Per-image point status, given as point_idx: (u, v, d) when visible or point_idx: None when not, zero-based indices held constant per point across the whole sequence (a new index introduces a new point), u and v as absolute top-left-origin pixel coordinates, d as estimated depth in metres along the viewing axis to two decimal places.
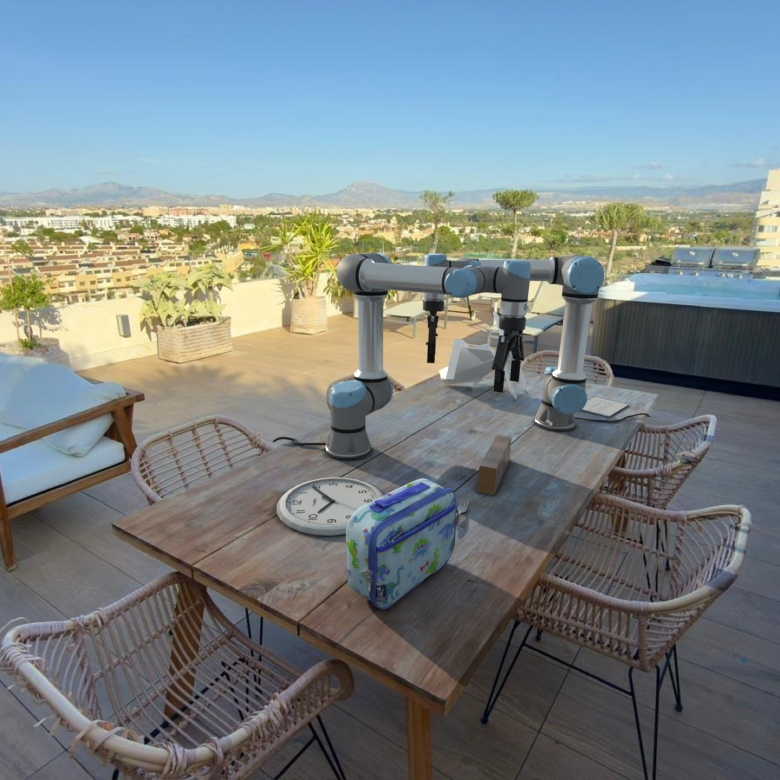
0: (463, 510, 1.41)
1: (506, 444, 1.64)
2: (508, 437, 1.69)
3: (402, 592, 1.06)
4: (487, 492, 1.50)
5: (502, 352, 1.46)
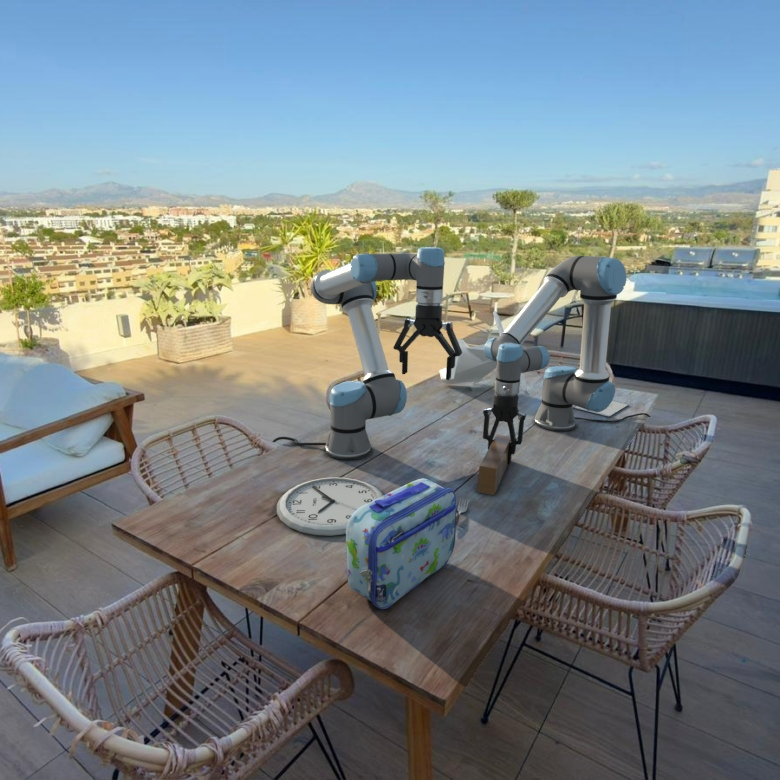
0: (463, 510, 1.41)
1: (506, 444, 1.64)
2: (508, 437, 1.69)
3: (402, 592, 1.06)
4: (487, 492, 1.50)
5: None
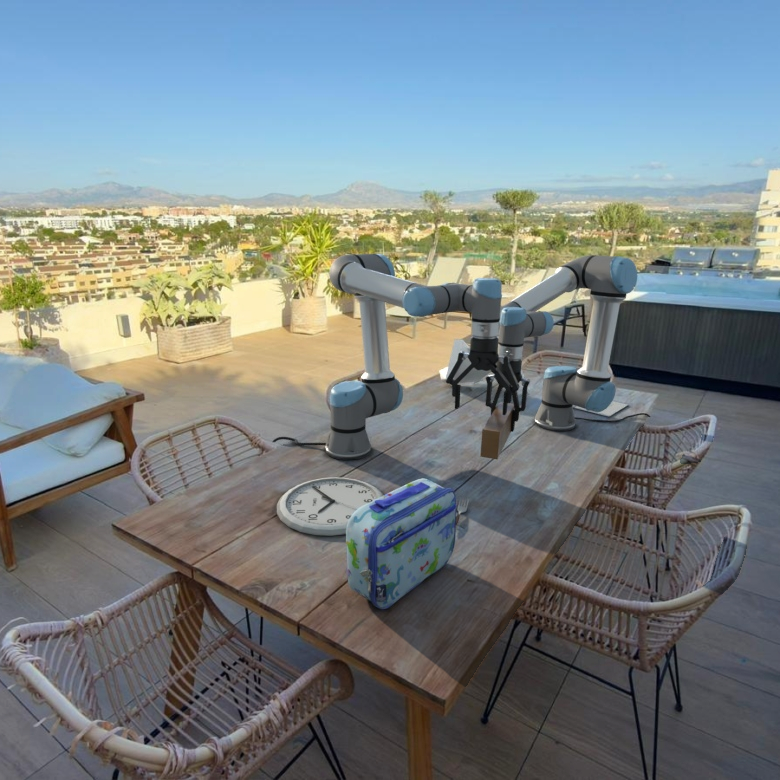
0: (463, 510, 1.41)
1: (509, 410, 1.61)
2: (511, 404, 1.66)
3: (402, 592, 1.06)
4: (490, 457, 1.47)
5: (453, 367, 1.47)
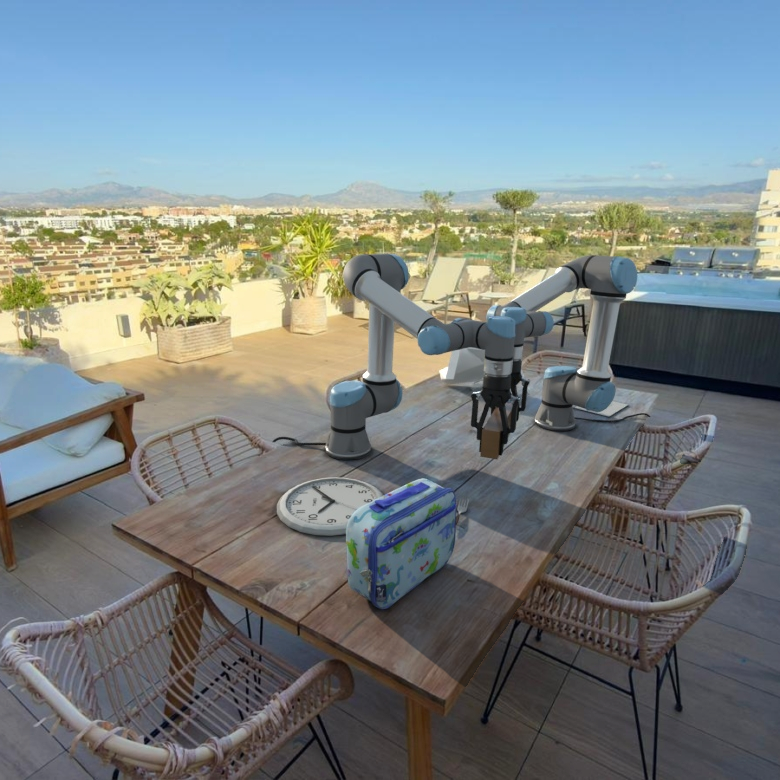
0: (463, 510, 1.41)
1: (509, 410, 1.61)
2: (511, 404, 1.66)
3: (402, 592, 1.06)
4: (490, 457, 1.47)
5: None
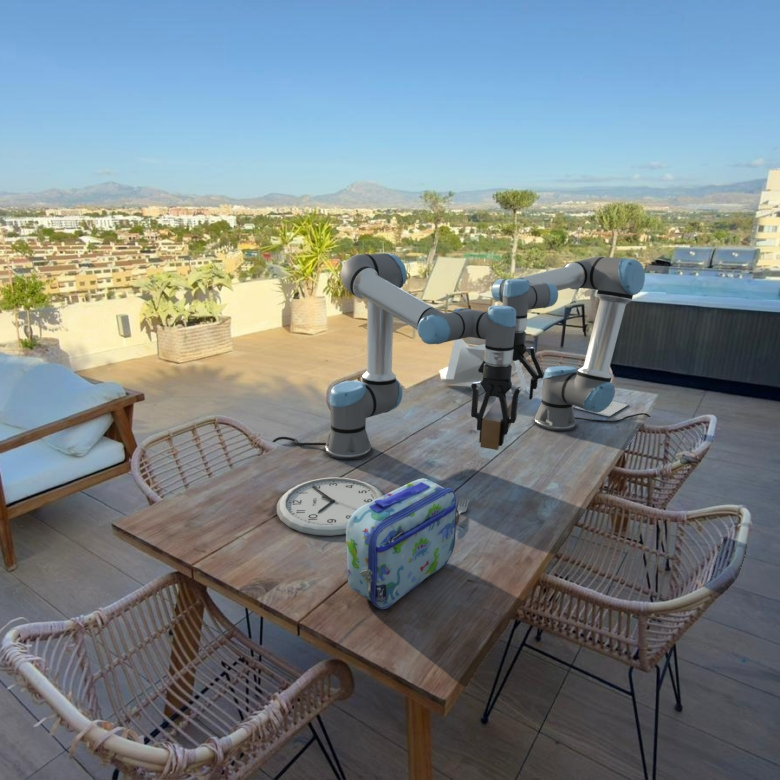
0: (463, 510, 1.41)
1: (510, 401, 1.60)
2: (512, 396, 1.65)
3: (402, 592, 1.06)
4: (490, 447, 1.46)
5: None
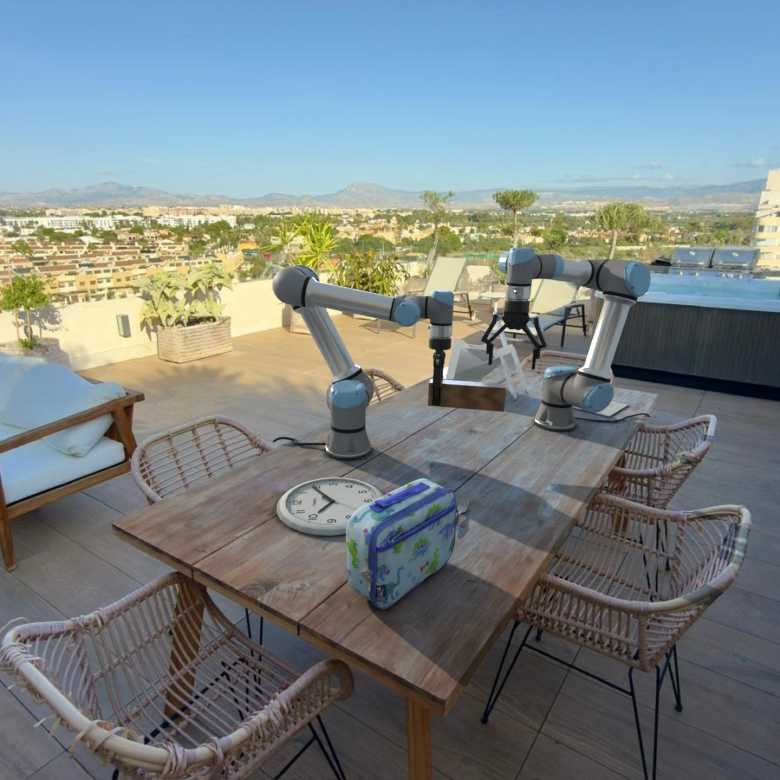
0: (463, 510, 1.41)
1: (484, 386, 1.76)
2: (502, 387, 1.75)
3: (402, 592, 1.06)
4: None
5: None
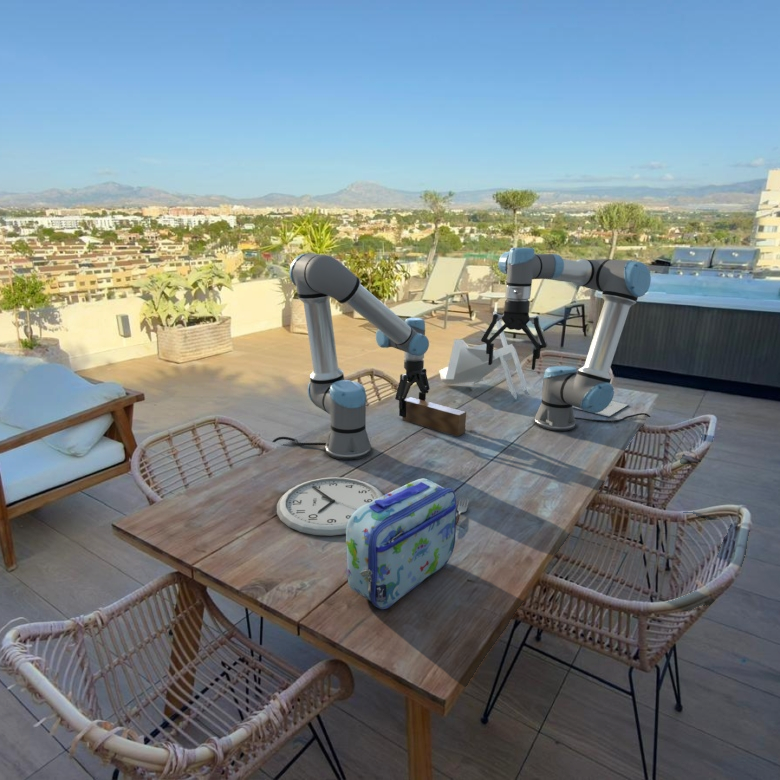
0: (463, 510, 1.41)
1: (443, 410, 1.93)
2: (457, 413, 1.90)
3: (402, 592, 1.06)
4: None
5: None
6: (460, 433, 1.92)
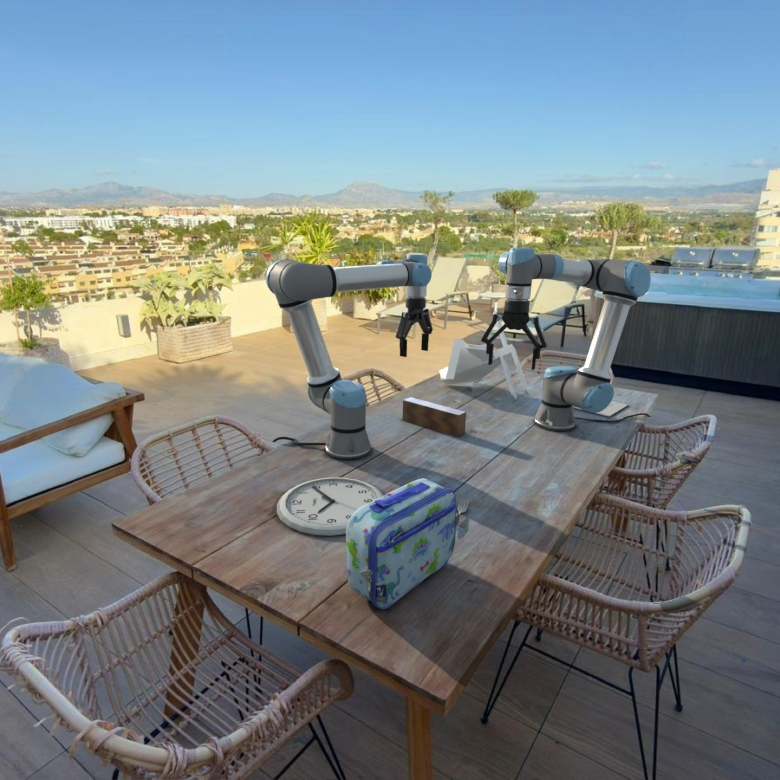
0: (463, 510, 1.41)
1: (443, 410, 1.93)
2: (457, 413, 1.90)
3: (402, 592, 1.06)
4: None
5: None
6: (460, 433, 1.92)
